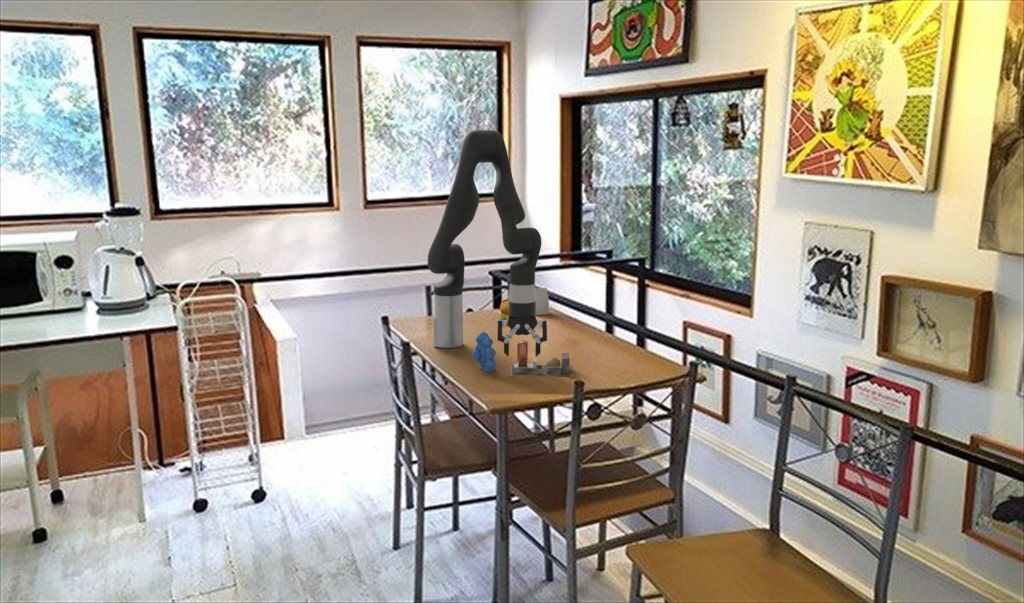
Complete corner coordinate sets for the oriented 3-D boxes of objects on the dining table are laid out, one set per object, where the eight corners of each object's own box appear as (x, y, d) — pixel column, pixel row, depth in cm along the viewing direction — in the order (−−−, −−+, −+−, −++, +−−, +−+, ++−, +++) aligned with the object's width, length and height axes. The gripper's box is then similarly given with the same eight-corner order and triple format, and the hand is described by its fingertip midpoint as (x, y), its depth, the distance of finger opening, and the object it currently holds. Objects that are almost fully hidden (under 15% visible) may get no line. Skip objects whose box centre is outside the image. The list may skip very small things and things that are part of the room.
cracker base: (509, 381, 212) (509, 360, 211) (510, 369, 223) (510, 350, 221) (574, 381, 212) (574, 361, 210) (572, 370, 222) (572, 350, 221)
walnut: (546, 372, 215) (546, 359, 214) (546, 368, 219) (546, 355, 218) (560, 372, 215) (560, 359, 214) (560, 368, 219) (560, 355, 218)
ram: (513, 371, 215) (513, 343, 213) (513, 367, 219) (513, 339, 217) (536, 371, 215) (536, 343, 213) (536, 367, 219) (536, 340, 217)
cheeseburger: (522, 317, 289) (524, 293, 285) (526, 330, 280) (528, 306, 275) (496, 317, 288) (497, 293, 283) (499, 330, 278) (500, 306, 274)
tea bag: (548, 313, 295) (548, 288, 293) (533, 315, 292) (533, 290, 290) (544, 312, 298) (544, 287, 296) (528, 313, 296) (528, 288, 294)
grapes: (464, 369, 223) (464, 329, 221) (486, 366, 226) (485, 327, 223) (479, 380, 213) (478, 339, 210) (501, 377, 215) (501, 336, 213)
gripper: (496, 302, 209) (496, 359, 213) (548, 302, 209) (547, 359, 212) (497, 296, 216) (497, 351, 220) (547, 296, 216) (547, 352, 220)
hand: (522, 355), depth 216 cm, fingers open, 8 cm apart
